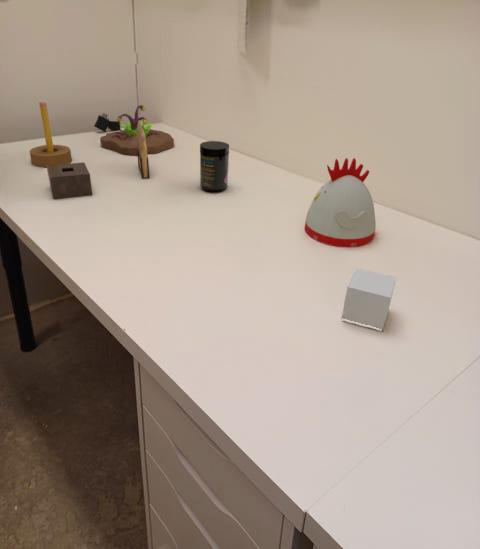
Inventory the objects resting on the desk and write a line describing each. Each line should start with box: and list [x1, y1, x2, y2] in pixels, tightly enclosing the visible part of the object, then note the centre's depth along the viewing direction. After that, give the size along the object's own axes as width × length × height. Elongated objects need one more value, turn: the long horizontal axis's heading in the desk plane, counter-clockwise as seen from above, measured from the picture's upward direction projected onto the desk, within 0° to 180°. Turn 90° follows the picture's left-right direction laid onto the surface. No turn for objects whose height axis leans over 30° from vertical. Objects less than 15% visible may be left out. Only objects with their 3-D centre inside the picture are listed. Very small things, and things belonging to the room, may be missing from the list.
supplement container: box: [199, 140, 230, 193], centre depth 111 cm, size 7×7×10 cm
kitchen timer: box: [304, 157, 377, 248], centre depth 92 cm, size 14×14×15 cm
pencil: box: [38, 101, 54, 152], centre depth 122 cm, size 2×2×15 cm
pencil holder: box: [46, 162, 93, 200], centre depth 108 cm, size 8×8×5 cm
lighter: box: [93, 112, 121, 133], centre depth 153 cm, size 8×2×5 cm
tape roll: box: [29, 144, 73, 168], centre depth 126 cm, size 10×10×3 cm
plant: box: [99, 104, 175, 157], centre depth 139 cm, size 20×20×11 cm
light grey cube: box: [341, 267, 397, 330], centre depth 70 cm, size 6×6×6 cm
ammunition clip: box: [137, 120, 150, 180], centre depth 119 cm, size 11×2×12 cm, turn 15°
